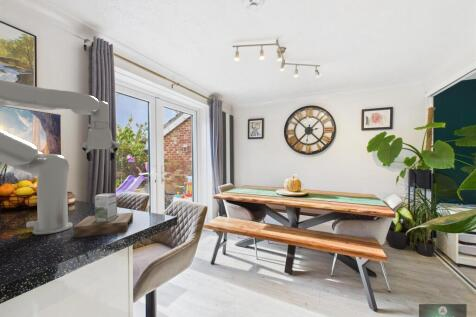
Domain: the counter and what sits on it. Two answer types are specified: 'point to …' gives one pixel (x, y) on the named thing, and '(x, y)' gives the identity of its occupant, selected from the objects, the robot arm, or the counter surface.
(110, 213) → the syrup box
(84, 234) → the walnut stand
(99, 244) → the counter surface
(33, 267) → the counter surface
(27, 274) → the counter surface
